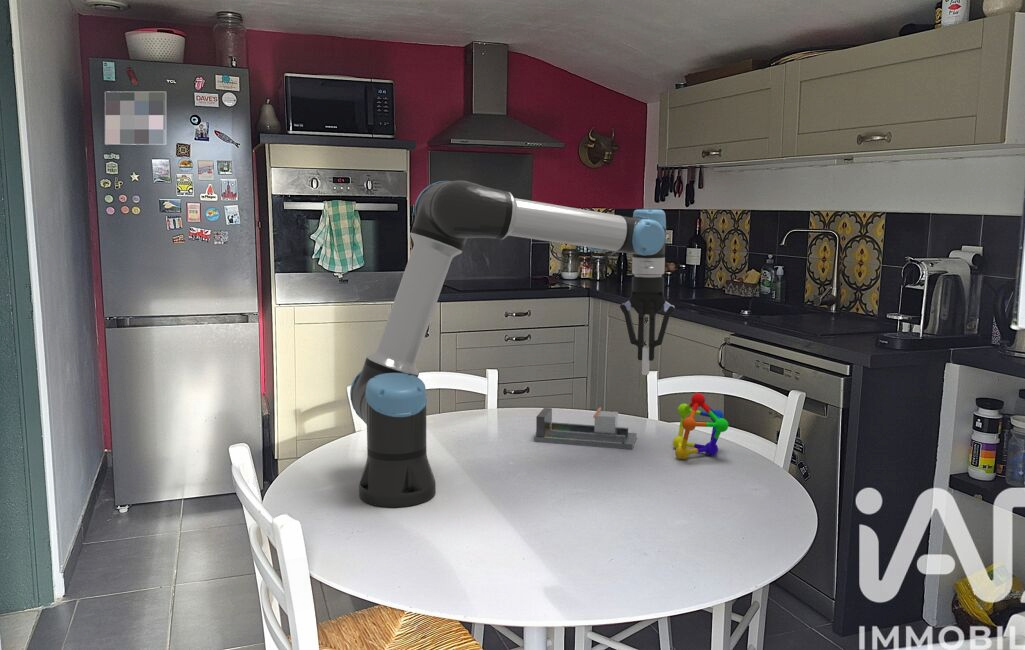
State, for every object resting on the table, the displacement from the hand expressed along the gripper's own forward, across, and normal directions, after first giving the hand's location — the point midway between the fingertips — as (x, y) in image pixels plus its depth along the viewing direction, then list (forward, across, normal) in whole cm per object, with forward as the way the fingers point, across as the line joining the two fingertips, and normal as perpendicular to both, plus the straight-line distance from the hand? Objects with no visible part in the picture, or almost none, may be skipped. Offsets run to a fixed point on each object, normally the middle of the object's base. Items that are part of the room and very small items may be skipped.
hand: (645, 373), depth 196 cm
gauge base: (+17, -14, 0) cm, 22 cm away
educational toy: (+18, +13, -4) cm, 22 cm away
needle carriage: (+16, -9, 0) cm, 18 cm away
